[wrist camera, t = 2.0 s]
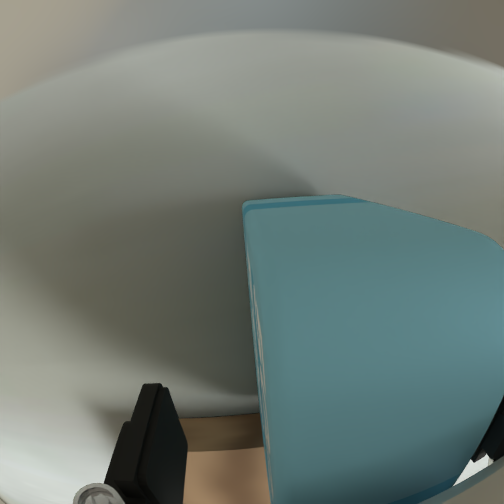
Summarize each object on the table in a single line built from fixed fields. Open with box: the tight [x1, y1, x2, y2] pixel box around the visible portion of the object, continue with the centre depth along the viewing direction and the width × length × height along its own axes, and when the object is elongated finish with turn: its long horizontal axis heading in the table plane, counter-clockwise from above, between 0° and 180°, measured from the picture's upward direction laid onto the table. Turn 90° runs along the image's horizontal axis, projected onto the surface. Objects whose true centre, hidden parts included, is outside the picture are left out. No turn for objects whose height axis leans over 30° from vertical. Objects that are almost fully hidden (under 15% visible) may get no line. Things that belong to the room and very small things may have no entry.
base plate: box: [179, 413, 271, 504], centre depth 18 cm, size 14×18×3 cm
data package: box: [242, 195, 504, 504], centre depth 10 cm, size 12×4×12 cm, turn 4°
